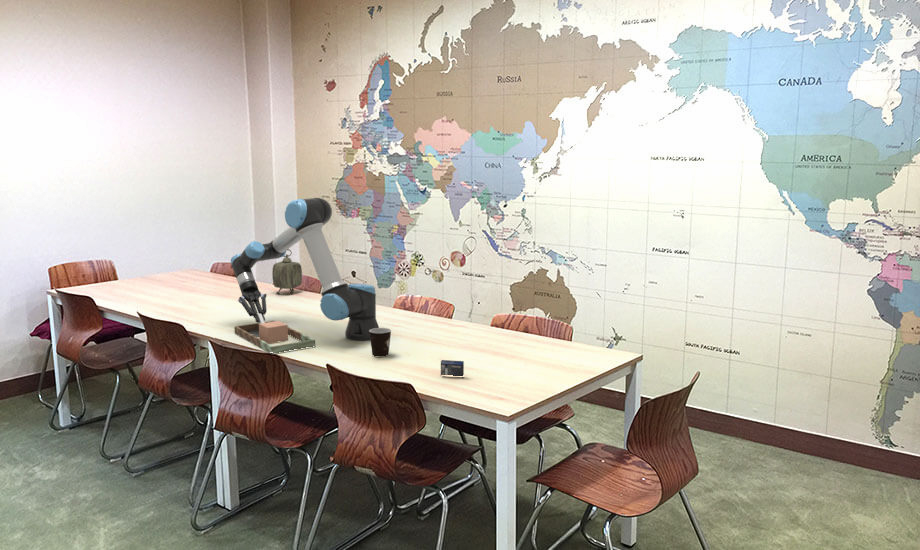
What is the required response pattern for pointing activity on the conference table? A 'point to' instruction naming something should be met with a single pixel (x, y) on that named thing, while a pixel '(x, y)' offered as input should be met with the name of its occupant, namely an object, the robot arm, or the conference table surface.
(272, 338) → the terracotta block
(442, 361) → the mini dv tape
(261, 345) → the wooden tray
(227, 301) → the conference table surface
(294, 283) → the tabletop clock
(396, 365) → the conference table surface
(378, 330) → the coffee mug
